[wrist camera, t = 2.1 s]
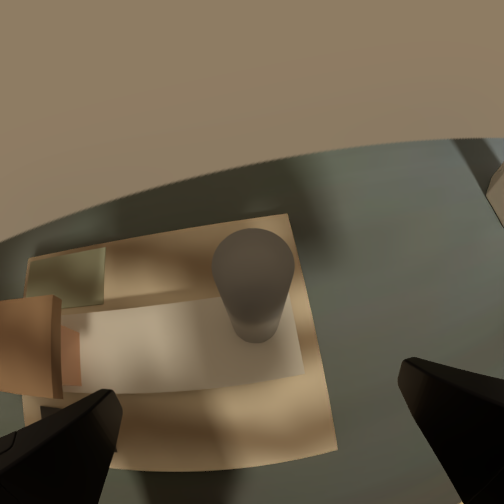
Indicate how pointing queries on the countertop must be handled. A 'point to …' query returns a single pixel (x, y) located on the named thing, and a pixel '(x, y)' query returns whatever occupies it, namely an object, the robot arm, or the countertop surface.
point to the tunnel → (31, 346)
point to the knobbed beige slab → (194, 330)
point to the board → (195, 401)
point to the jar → (497, 193)
